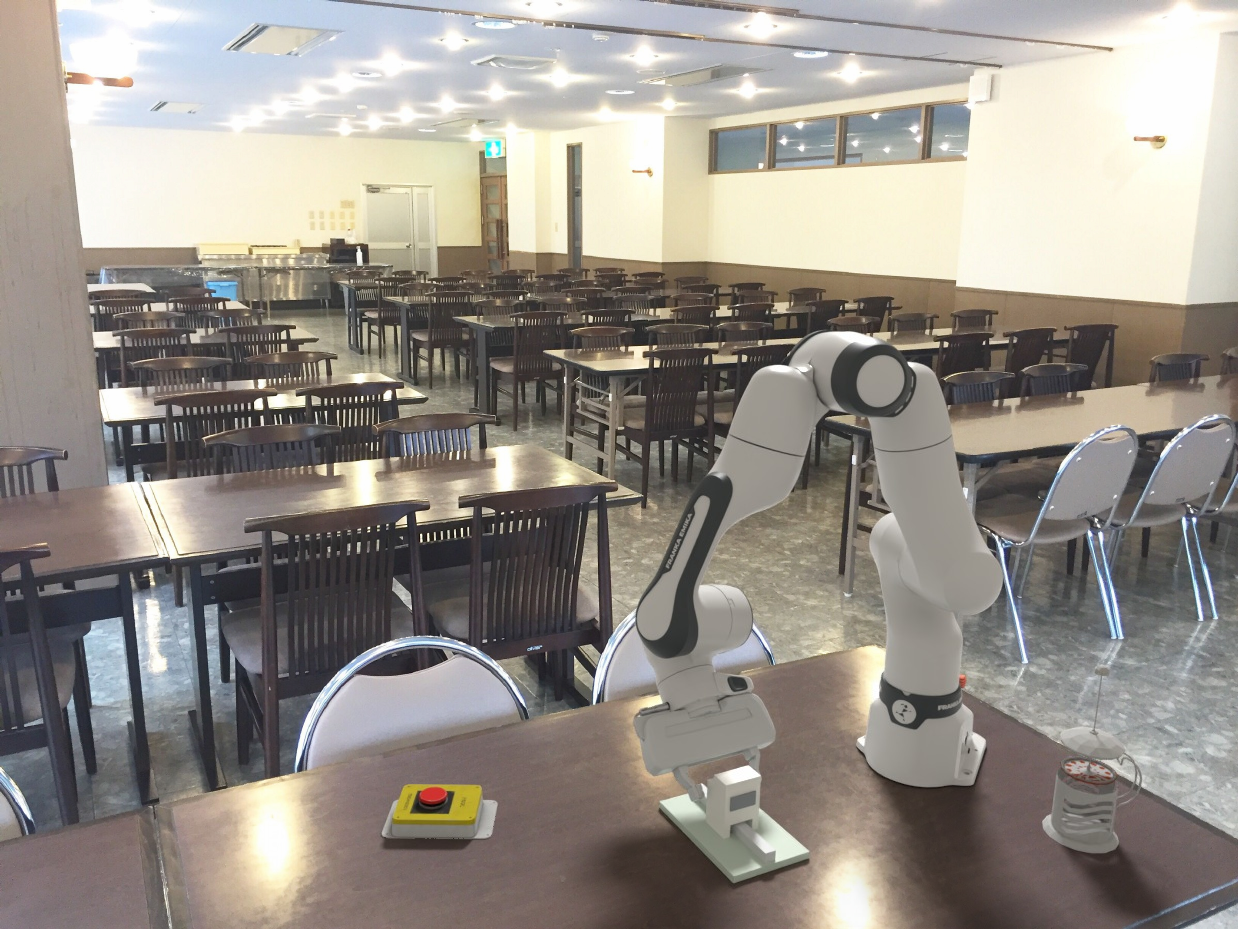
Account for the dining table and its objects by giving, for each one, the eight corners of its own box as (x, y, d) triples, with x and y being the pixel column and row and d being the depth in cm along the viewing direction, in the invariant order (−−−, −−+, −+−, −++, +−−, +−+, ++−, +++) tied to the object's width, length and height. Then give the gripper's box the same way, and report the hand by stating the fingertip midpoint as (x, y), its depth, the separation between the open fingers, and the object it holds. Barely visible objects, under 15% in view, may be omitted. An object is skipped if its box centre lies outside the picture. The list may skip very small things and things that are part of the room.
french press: (1033, 809, 143) (1053, 648, 137) (1118, 817, 141) (1142, 654, 136) (1053, 849, 134) (1075, 678, 128) (1144, 858, 132) (1170, 685, 126)
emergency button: (393, 775, 141) (498, 776, 142) (394, 803, 142) (498, 804, 143) (378, 812, 132) (490, 813, 133) (379, 841, 133) (491, 842, 134)
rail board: (659, 807, 142) (659, 792, 141) (729, 788, 147) (730, 773, 146) (733, 883, 125) (734, 866, 125) (809, 858, 131) (810, 842, 130)
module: (705, 821, 137) (707, 769, 135) (739, 812, 139) (742, 760, 137) (724, 840, 133) (727, 786, 131) (758, 829, 135) (761, 776, 133)
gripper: (637, 703, 135) (671, 803, 129) (760, 675, 144) (797, 768, 138) (621, 719, 140) (653, 816, 134) (741, 691, 149) (776, 781, 143)
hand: (727, 791), depth 136 cm, fingers open, 8 cm apart
